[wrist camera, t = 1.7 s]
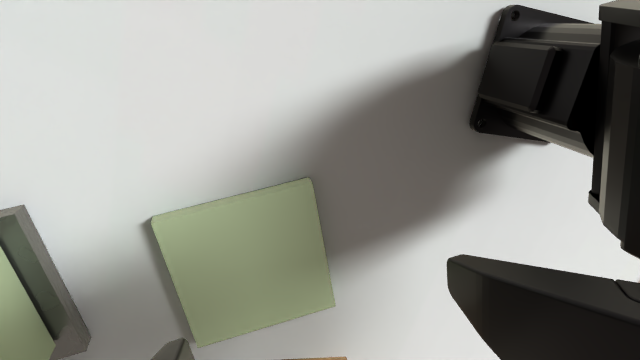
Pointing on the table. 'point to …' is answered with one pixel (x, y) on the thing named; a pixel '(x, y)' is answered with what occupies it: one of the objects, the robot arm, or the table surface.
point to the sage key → (20, 320)
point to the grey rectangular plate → (42, 282)
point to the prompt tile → (247, 260)
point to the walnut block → (330, 359)
